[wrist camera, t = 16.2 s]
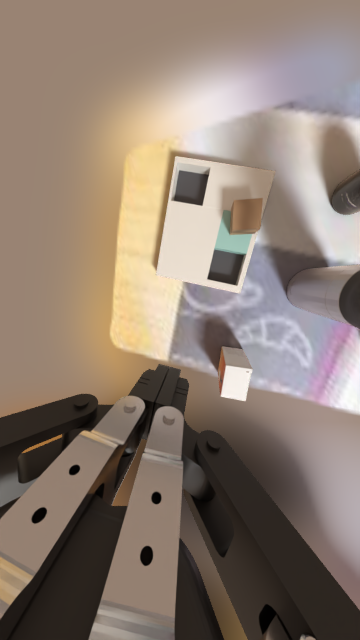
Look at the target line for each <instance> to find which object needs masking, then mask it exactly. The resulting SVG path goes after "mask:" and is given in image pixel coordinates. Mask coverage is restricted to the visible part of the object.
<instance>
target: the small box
mask: <svg viewBox="0 0 360 640" xmlns="http://www.w3.org/2000/svg"><path fill="white" fill-rule="evenodd" d="M252 370H253V369H252V367H251V365H250V363H249V361H248V359H247V356H246V354H245V352H244V350H243V349H238V348H231V347H224V346H222V349H221V356H220V362H219V368H218V379H219V388H220V396H221V397H226V398H232V399H237V400H243V401H246V396H247V390H248V386H249V382H250V377H251V373H252Z"/></svg>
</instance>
